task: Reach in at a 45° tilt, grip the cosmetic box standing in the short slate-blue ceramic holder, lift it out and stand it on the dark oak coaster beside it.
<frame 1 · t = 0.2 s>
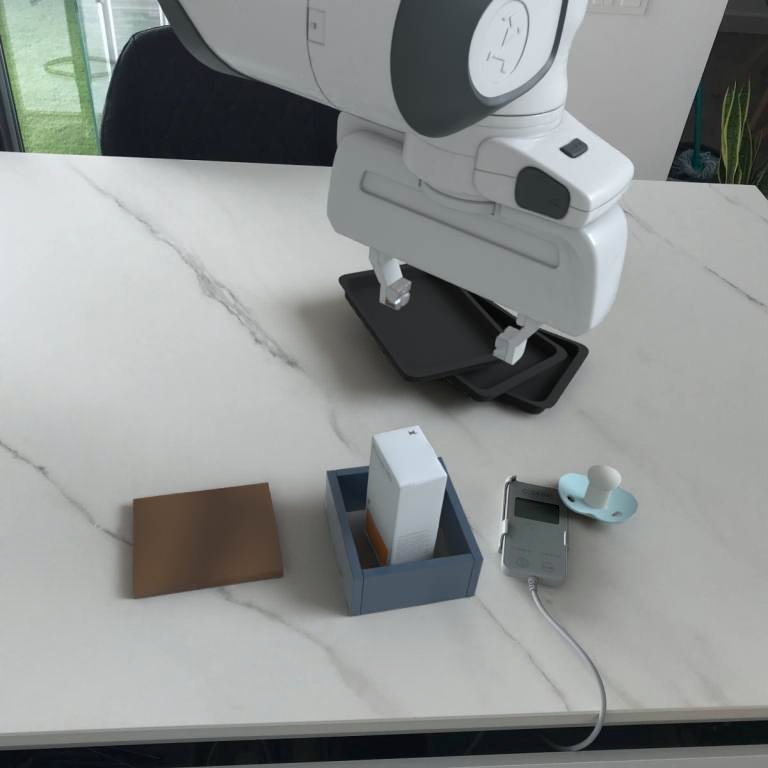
hand: (448, 329, 54), 23 cm above the table, tool pointing down, fingers open, 8 cm apart
holder: (396, 550, 68), on the table
coaster: (206, 540, 67), on the table
cosmetic box: (396, 551, 68), resting in holder
pacifier: (593, 504, 74), on the table
ceramic cup: (556, 269, 107), on the table
tray: (448, 357, 90), on the table
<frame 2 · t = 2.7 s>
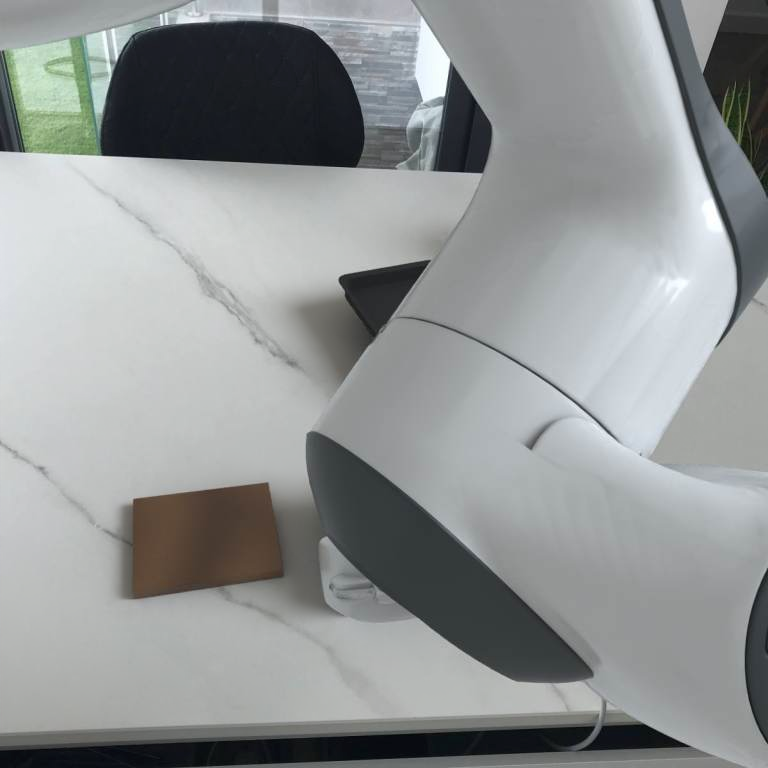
hand: (468, 533, 48), 17 cm above the table, tool tilted 45°, fingers open, 8 cm apart
nothing on the table moved.
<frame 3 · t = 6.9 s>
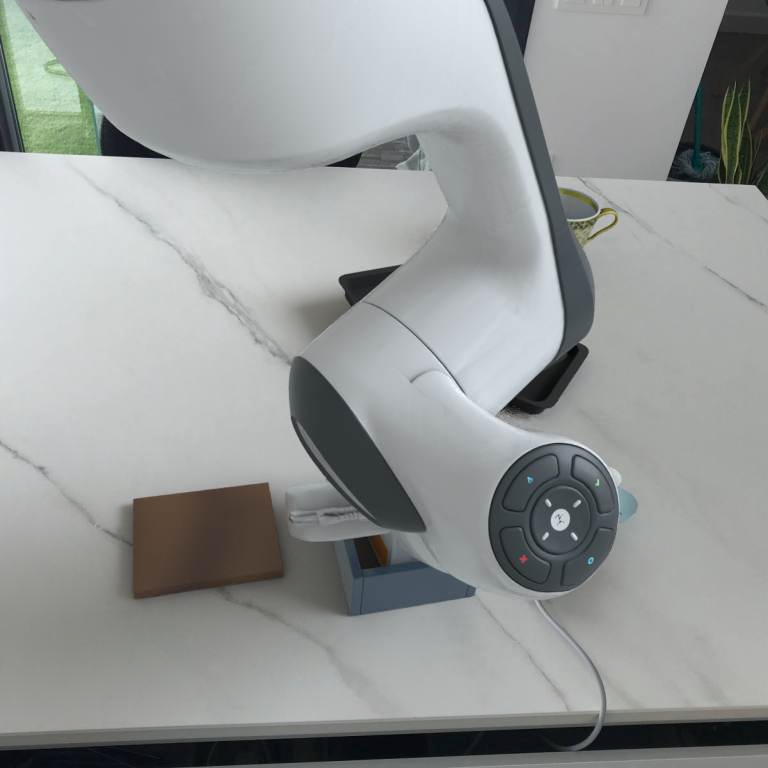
hand: (401, 491, 64), 7 cm above the table, tool tilted 45°, fingers closed on cosmetic box, 4 cm apart
cosmetic box: (396, 551, 68), resting in holder, touching gripper
everything else where it was.
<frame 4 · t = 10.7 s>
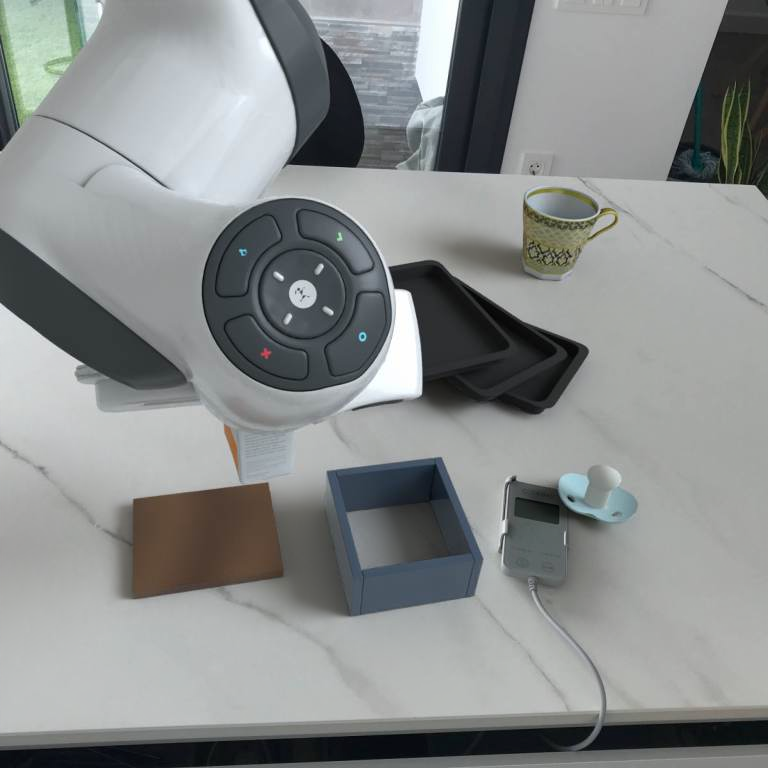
hand: (254, 380, 56), 18 cm above the table, tool tilted 45°, fingers closed on cosmetic box, 4 cm apart
cosmetic box: (258, 456, 60), point 11 cm above the table, touching gripper
everything else where it was.
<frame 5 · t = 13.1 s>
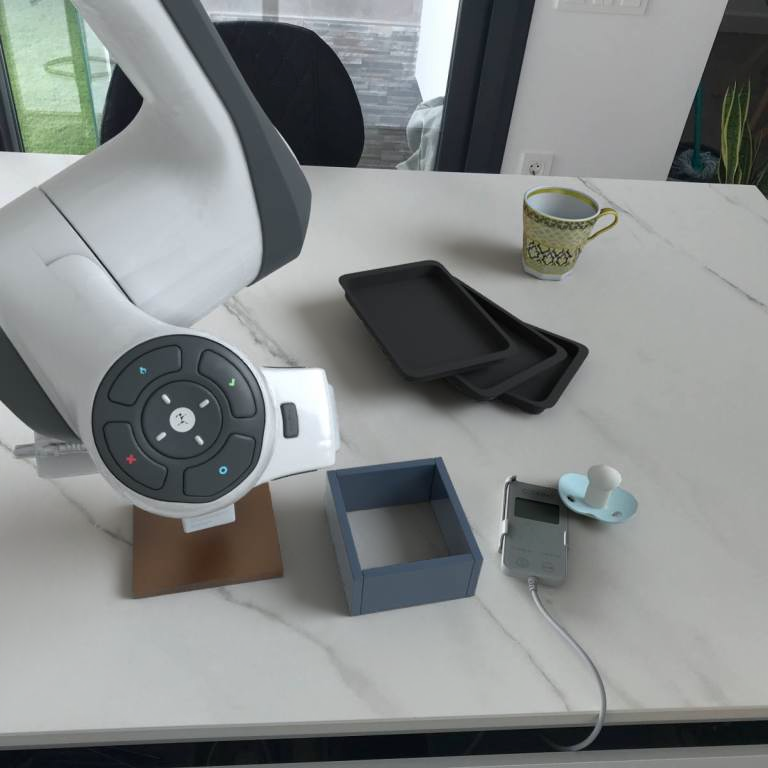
hand: (195, 437, 60), 12 cm above the table, tool tilted 45°, fingers closed on cosmetic box, 4 cm apart
cosmetic box: (203, 504, 64), point 5 cm above the table, touching gripper
everything else where it was.
when the fingers open (8 cm above the table, at t = 14.7 s): cosmetic box stays where it is, resting on coaster.
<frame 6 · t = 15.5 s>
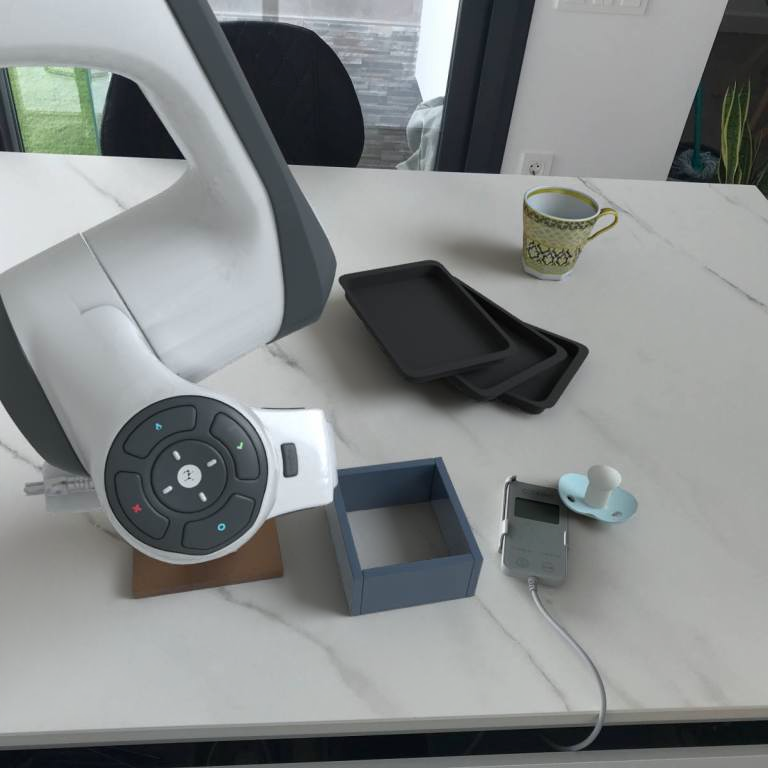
hand: (197, 468, 62), 8 cm above the table, tool tilted 45°, fingers open, 8 cm apart
cosmetic box: (206, 534, 67), point 1 cm above the table, touching coaster
everything else where it was.
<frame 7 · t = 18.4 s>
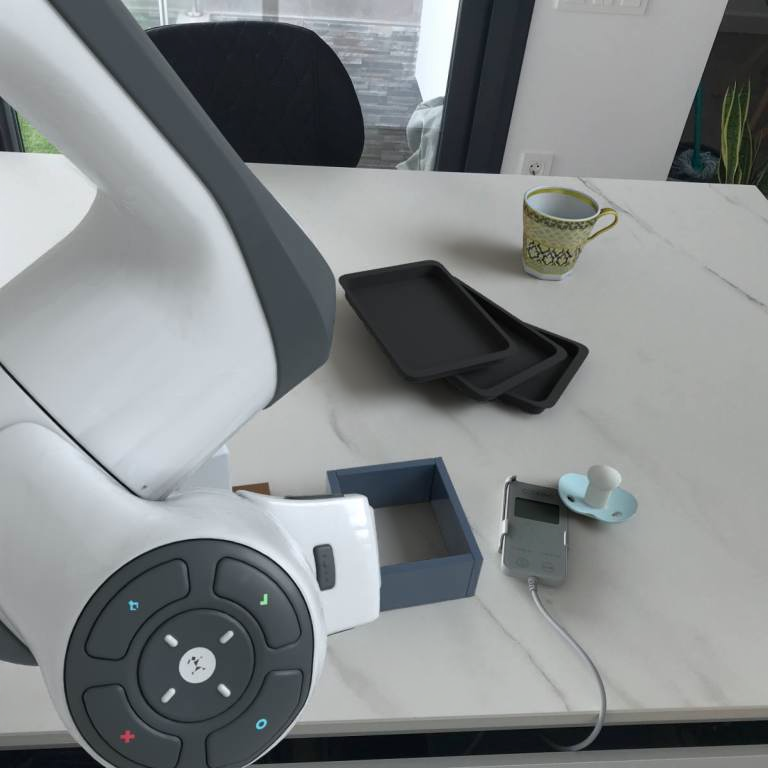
hand: (201, 549, 50), 13 cm above the table, tool tilted 45°, fingers open, 8 cm apart
nothing on the table moved.
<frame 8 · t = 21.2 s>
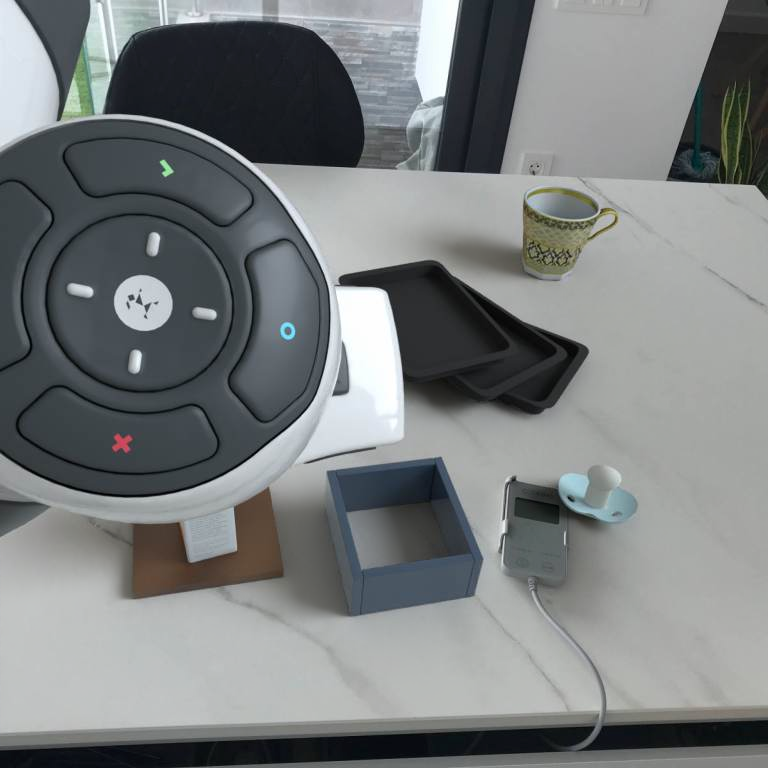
hand: (188, 407, 43), 25 cm above the table, tool tilted 45°, fingers open, 8 cm apart
nothing on the table moved.
at the end: cosmetic box inside the target area on the coaster (0.0 cm from its centre), point 0.8 cm above the coaster's base; cosmetic box tilted 0°; the gripper is holding nothing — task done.
